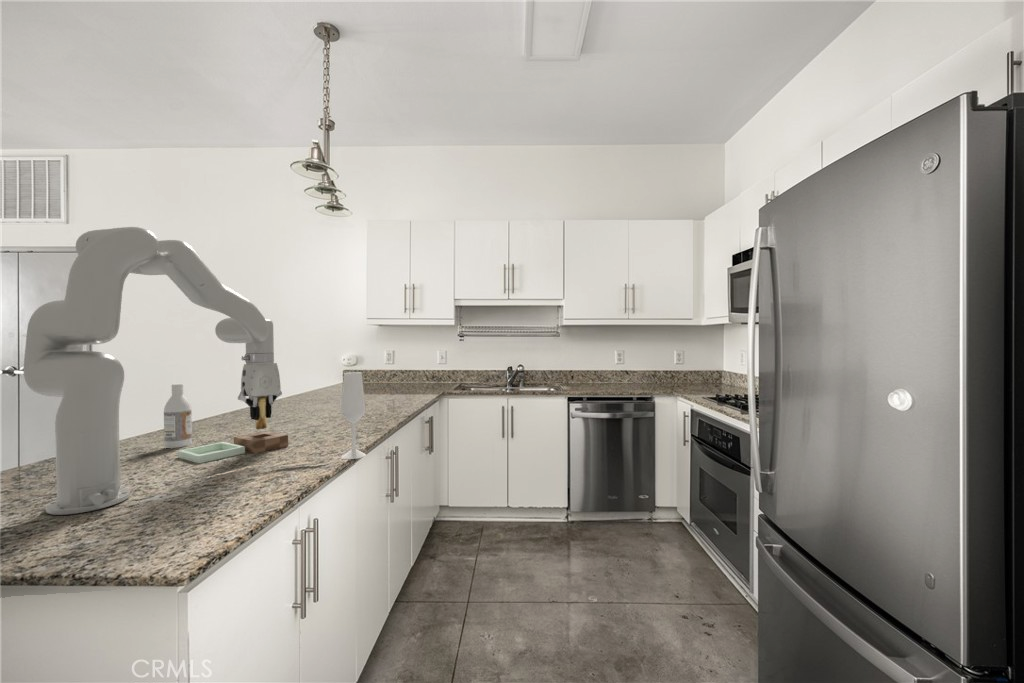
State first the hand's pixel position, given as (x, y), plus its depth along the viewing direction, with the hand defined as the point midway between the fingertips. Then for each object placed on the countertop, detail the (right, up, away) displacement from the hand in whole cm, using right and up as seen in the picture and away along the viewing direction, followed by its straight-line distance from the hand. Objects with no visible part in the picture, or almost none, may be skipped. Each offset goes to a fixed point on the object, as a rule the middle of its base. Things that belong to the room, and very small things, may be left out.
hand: (261, 417), depth 136 cm
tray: (-9, -10, -9) cm, 16 cm away
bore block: (0, -10, 0) cm, 10 cm away
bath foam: (-28, -10, +3) cm, 30 cm away
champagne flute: (+32, -10, -9) cm, 35 cm away
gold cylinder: (0, -3, 0) cm, 3 cm away
